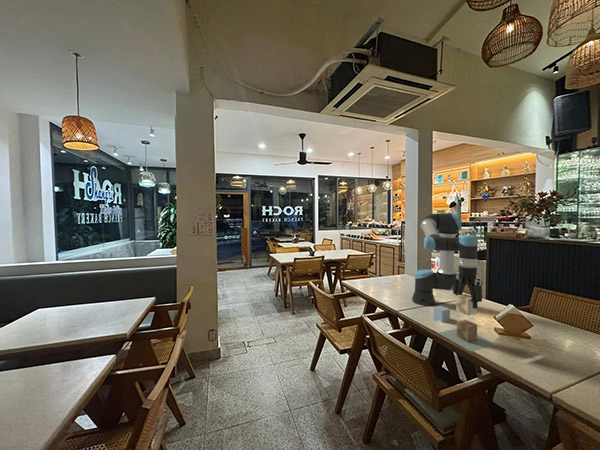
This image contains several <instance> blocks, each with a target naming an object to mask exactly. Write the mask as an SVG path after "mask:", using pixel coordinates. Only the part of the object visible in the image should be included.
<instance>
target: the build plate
mask: <svg viewBox="0 0 600 450" xmlns="http://www.w3.org/2000/svg"><path fill="white" fill-rule="evenodd" d="M438 334H439V335H441V336H442V337H444V338H446V339H448V340H449V341H451V342H453V343H455V344H457V345H459V346H460V347H462V348H464V349H466V350H467V351H469V352H475V351H479V350H483V349H487V348H492V347H497V346H499V344H498V343H495V342H493V341H491V340H490V339H487V338H485V337H483V336H482V335H479V334H477V341H473V342H466V341H464V340H462V339H460V338H458V337H457V328H455V329H449V330H444V331H440V332H438Z"/></svg>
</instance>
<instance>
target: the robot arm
mask: <svg viewBox="0 0 600 450" xmlns="http://www.w3.org/2000/svg"><path fill="white" fill-rule="evenodd" d="M461 219H462V218H461V216H460V215H459V214H458V213H448V212H447V213H430V214H428V215H426V216H424V217H423V218H422V219H421V220H420V222H419V226H420V229H421V230H422V231H423V233H424V238H423V248H424V250H426V251H435V252H436V251H437V252H438V251H439V264H438V265H439V268H437V269H436V272H434V271H433V270H432V269H418V270H416V271H415V273H414V274H415V275H414V292H413V295H412V296H411V301H412V302H413V303H415V304H417V305H421V306H429V307H430V306H435V305H436V299H435V296H434V290H442V291H448V292H449V291H452V293H453V294H454V295H455V296H456V297H457V295H463V292H464V291H465V287H466V286H467V288H468V290H469V294H470V296H471V298H472V301H471V302H470V314H471V315H470V316H473V315H477V314H476V308H477V309H478V303H479V302H480V303H482V302H483V291H482V289H483V287H482V286H483V283H484V282H483V281H481V280H478V279H477V274H478V268H477V267H478V248H479V246H478V245H479V242H478V240H479V239H478V237H477V236H476V235H470V234H469V235H464V234H461V235H460V236H458V237H456V236H457V235H458V234H459V232H460V231H462V225H463V224H462V220H461ZM455 252H458V274H457V272H456V270H454V269H455V268H454V266H455Z"/></svg>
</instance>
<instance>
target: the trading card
mask: <svg viewBox="0 0 600 450" xmlns="http://www.w3.org/2000/svg"><path fill="white" fill-rule="evenodd" d="M458 316H459V317H461V316H462V314H459V315H456V316H454V315H451V317H452V318H455V317H458ZM468 318H472V319H473V320H476V321H478V322H479V323H482V324H484V325H485V326H488V328H487V327H486V330H489V329H494V327H492V326H491V325H489V324H486V323H484V322H481V321H480V320H478V319H476V318H473V317H471V315H468Z"/></svg>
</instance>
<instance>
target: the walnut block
mask: <svg viewBox="0 0 600 450" xmlns="http://www.w3.org/2000/svg"><path fill="white" fill-rule="evenodd" d="M456 329H457V337H458V338H460V339H462V340H464V341H466V342H473V341H477V335H478V324H476V323H473V322H471V321H470V320H467V319H463V320H458V321H456Z"/></svg>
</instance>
